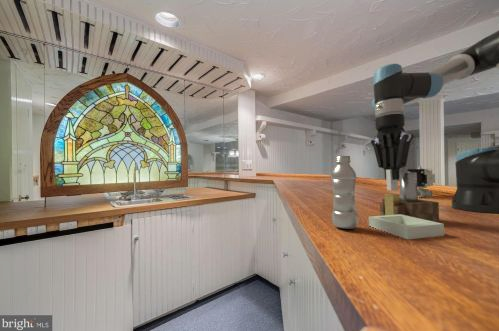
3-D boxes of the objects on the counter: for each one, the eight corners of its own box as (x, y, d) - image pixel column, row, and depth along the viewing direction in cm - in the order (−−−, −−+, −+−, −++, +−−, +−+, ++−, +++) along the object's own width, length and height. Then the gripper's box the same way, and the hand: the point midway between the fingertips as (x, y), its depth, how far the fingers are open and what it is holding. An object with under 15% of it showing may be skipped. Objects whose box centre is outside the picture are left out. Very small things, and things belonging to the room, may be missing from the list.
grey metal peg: (408, 217, 66) (406, 172, 67) (422, 220, 62) (420, 172, 62) (397, 218, 65) (395, 172, 66) (410, 221, 61) (408, 172, 61)
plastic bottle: (348, 233, 51) (345, 155, 51) (326, 226, 57) (325, 156, 57) (363, 229, 54) (361, 155, 54) (341, 223, 60) (340, 157, 60)
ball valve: (426, 199, 103) (425, 165, 103) (406, 198, 110) (405, 166, 110) (437, 196, 113) (436, 165, 113) (418, 195, 120) (417, 166, 120)
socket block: (406, 215, 70) (405, 197, 70) (439, 222, 60) (438, 202, 60) (375, 217, 67) (374, 199, 67) (404, 225, 57) (403, 204, 57)
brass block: (391, 218, 64) (390, 193, 64) (400, 220, 61) (399, 194, 61) (385, 218, 63) (384, 193, 64) (393, 220, 61) (392, 194, 61)
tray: (400, 223, 59) (400, 214, 59) (444, 235, 48) (443, 223, 48) (369, 226, 56) (368, 216, 56) (407, 239, 46) (407, 227, 46)
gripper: (363, 120, 69) (366, 189, 68) (398, 109, 56) (402, 192, 55) (381, 121, 70) (384, 188, 70) (420, 110, 58) (424, 191, 57)
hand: (392, 190), depth 63 cm, fingers closed
